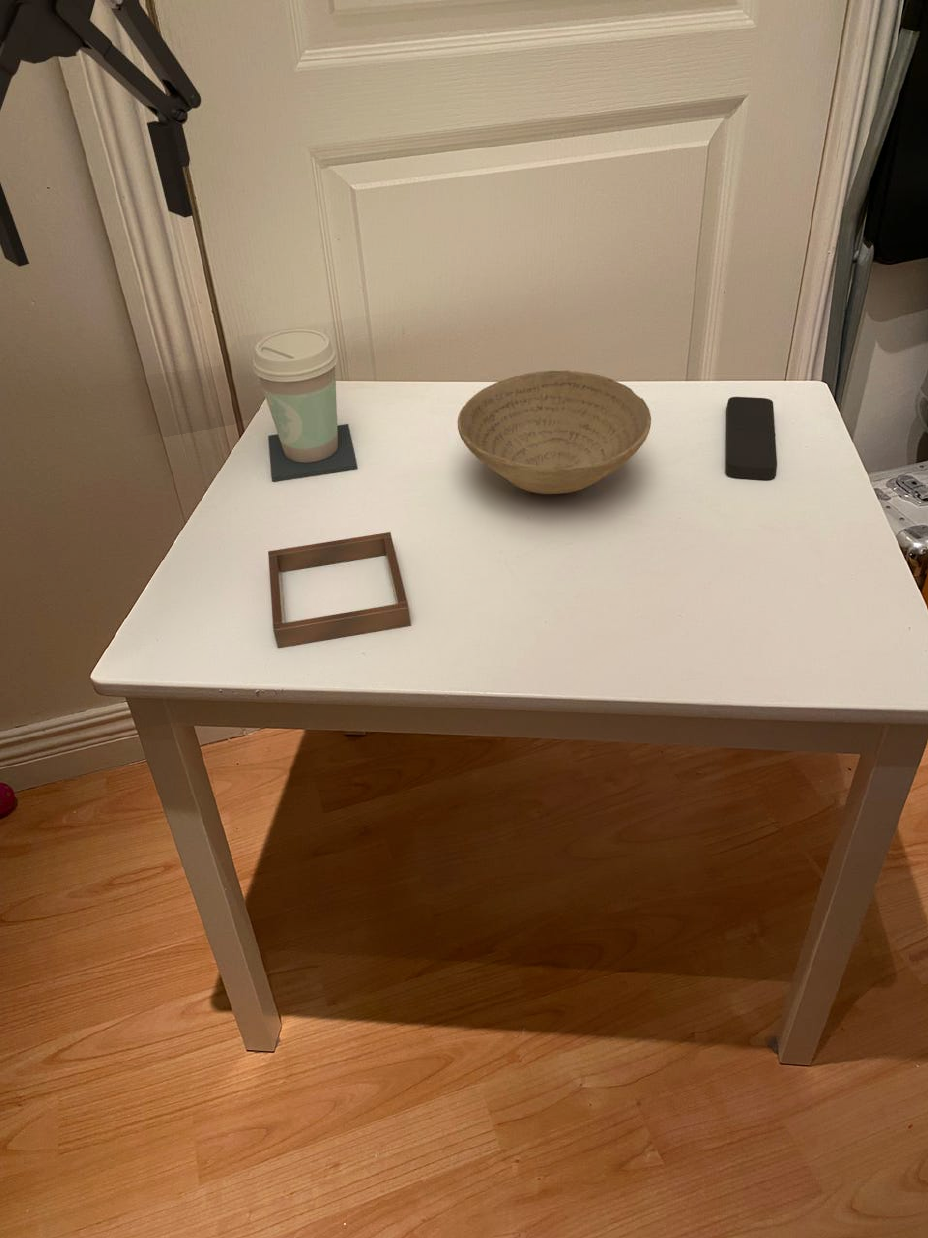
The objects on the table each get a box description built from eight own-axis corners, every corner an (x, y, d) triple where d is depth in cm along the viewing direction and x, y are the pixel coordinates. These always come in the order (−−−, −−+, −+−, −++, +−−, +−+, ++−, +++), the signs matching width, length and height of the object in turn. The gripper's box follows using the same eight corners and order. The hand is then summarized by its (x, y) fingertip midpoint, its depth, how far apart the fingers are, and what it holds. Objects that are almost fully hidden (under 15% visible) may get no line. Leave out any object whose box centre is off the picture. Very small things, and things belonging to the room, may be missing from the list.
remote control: (775, 485, 93) (771, 407, 104) (778, 470, 92) (774, 393, 103) (724, 481, 94) (725, 405, 105) (726, 466, 93) (728, 391, 104)
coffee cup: (267, 438, 104) (244, 334, 96) (342, 423, 105) (326, 320, 98) (277, 476, 98) (254, 369, 90) (357, 460, 99) (342, 354, 91)
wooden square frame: (277, 648, 78) (273, 630, 77) (272, 568, 86) (267, 551, 85) (411, 625, 79) (408, 607, 78) (392, 548, 88) (390, 531, 86)
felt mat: (272, 481, 98) (271, 476, 98) (268, 439, 105) (267, 435, 104) (357, 469, 99) (356, 464, 99) (348, 428, 106) (348, 423, 105)
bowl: (455, 536, 89) (449, 463, 83) (466, 438, 103) (462, 370, 97) (652, 535, 87) (659, 461, 82) (637, 435, 101) (642, 366, 96)
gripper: (150, -129, 66) (217, 186, 80) (-237, -94, 54) (-79, 271, 68) (204, -131, 62) (265, 204, 76) (-204, -93, 50) (-42, 297, 64)
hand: (102, 236), depth 72 cm, fingers open, 13 cm apart
